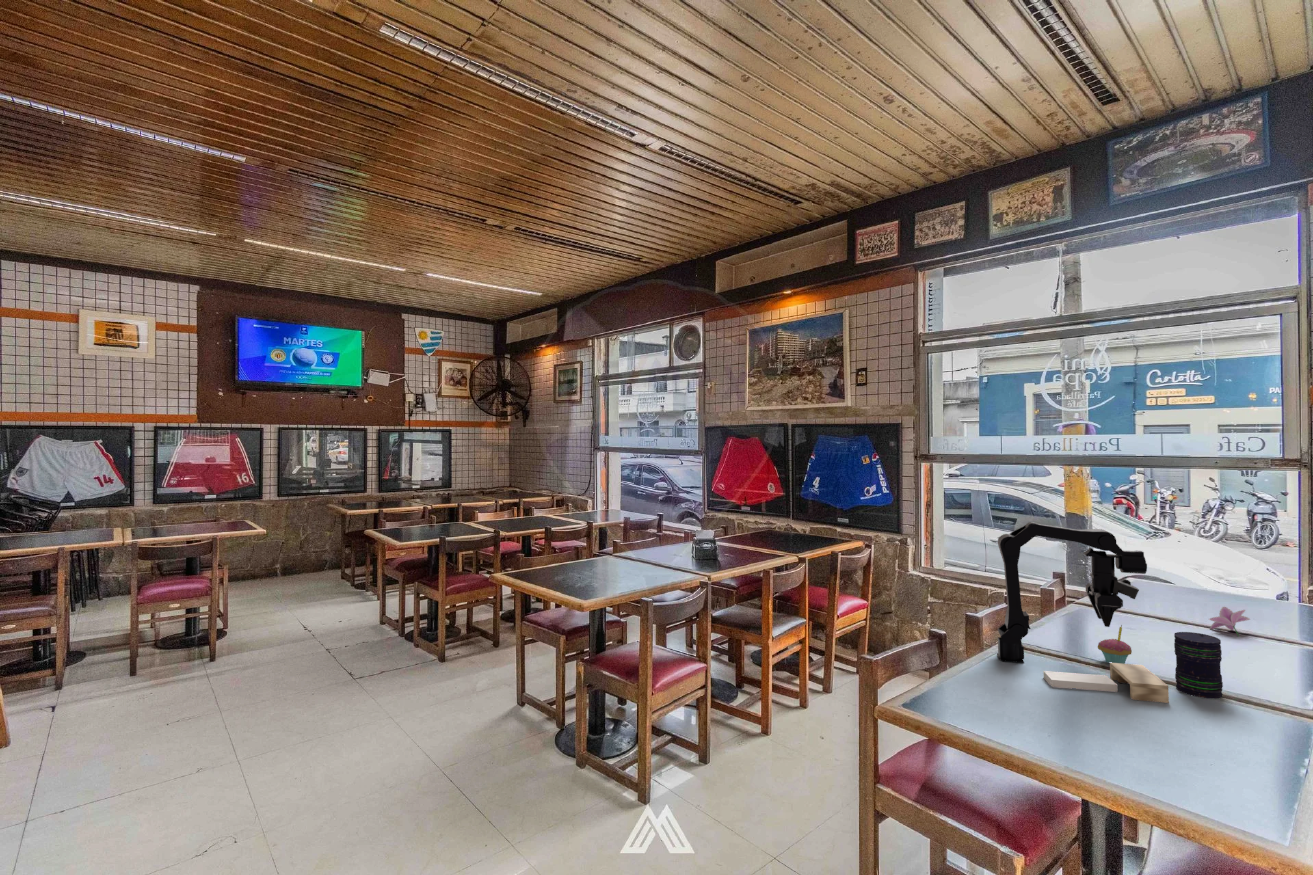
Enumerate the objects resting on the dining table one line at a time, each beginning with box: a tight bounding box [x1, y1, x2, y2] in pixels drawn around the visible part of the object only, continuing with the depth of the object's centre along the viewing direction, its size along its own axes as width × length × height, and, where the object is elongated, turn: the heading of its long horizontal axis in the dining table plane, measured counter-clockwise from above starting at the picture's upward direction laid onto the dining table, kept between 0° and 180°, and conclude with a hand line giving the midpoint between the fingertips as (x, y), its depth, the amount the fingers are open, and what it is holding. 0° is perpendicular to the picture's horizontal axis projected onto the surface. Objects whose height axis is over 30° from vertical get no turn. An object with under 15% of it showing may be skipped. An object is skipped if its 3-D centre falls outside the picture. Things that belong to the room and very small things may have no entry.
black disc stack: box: [1173, 631, 1224, 700], centre depth 169 cm, size 10×10×15 cm
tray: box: [1042, 670, 1118, 693], centre depth 176 cm, size 16×7×2 cm, turn 74°
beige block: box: [1109, 663, 1170, 704], centre depth 171 cm, size 8×16×4 cm, turn 161°
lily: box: [1208, 606, 1251, 637], centre depth 219 cm, size 12×12×10 cm
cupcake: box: [1097, 624, 1133, 664], centre depth 193 cm, size 9×8×12 cm
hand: (1103, 622), depth 188 cm, fingers open, 9 cm apart
